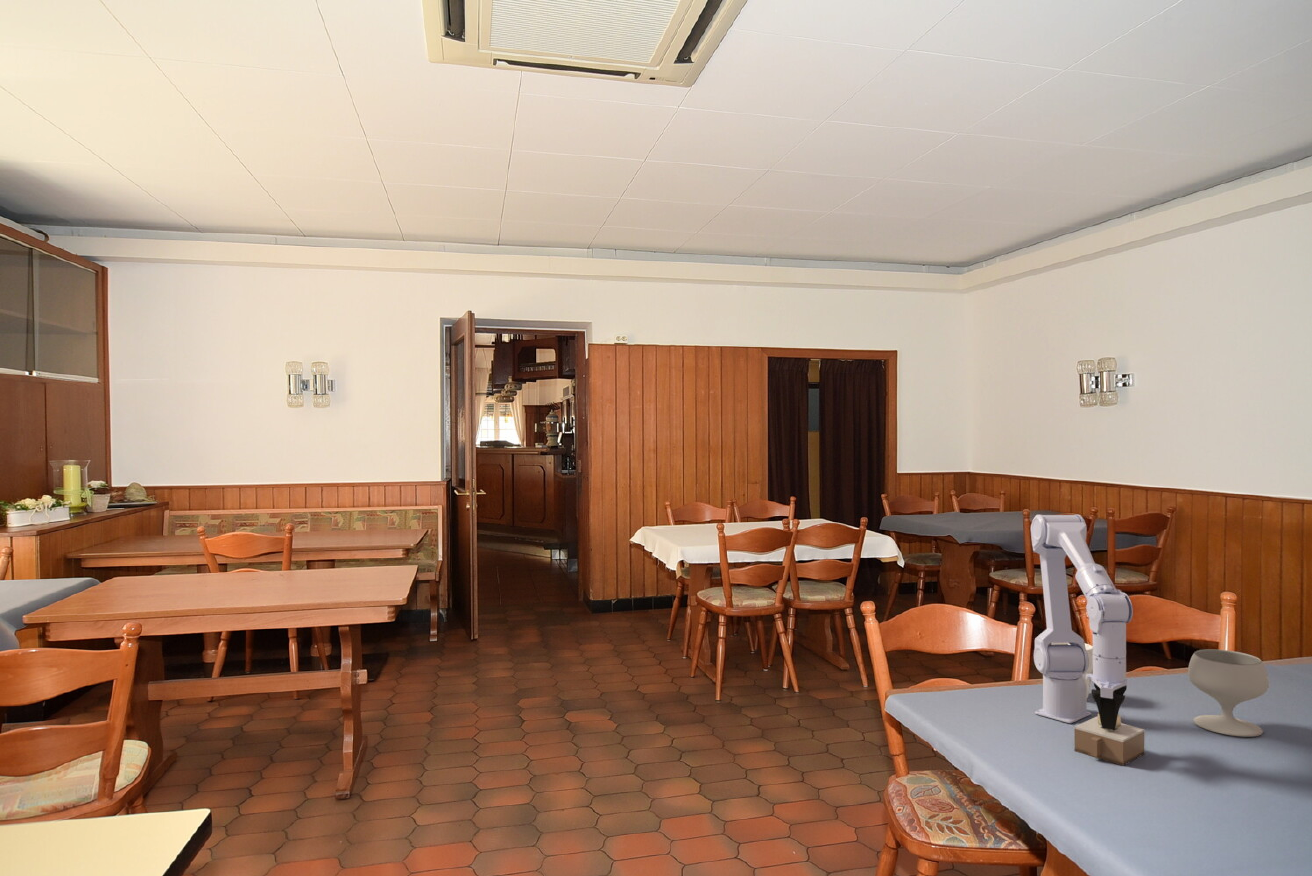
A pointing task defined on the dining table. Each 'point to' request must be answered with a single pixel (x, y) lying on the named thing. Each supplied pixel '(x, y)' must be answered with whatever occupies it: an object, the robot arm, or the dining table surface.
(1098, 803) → the dining table surface
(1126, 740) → the tan box
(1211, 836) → the dining table surface
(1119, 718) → the plunger
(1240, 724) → the chalice
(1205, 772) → the dining table surface
